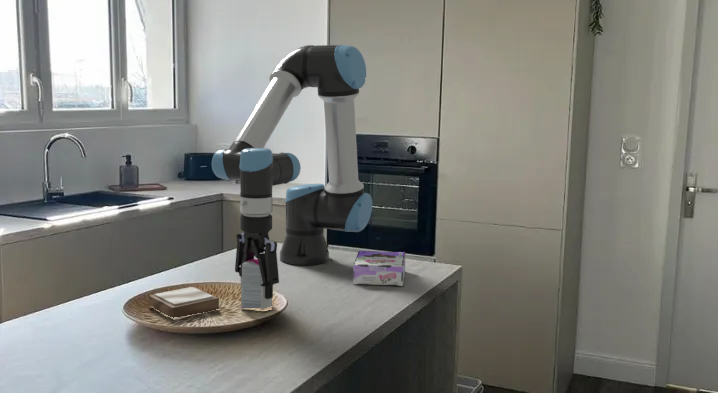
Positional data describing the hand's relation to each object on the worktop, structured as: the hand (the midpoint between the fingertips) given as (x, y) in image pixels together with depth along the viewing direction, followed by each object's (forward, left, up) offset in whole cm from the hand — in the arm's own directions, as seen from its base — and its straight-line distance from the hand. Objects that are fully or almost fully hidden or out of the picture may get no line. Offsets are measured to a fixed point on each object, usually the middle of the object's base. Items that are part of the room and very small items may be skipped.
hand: (256, 306), depth 173 cm
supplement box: (0, 0, 0) cm, 0 cm away
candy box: (-6, +48, +3) cm, 48 cm away
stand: (-10, -14, 0) cm, 17 cm away
